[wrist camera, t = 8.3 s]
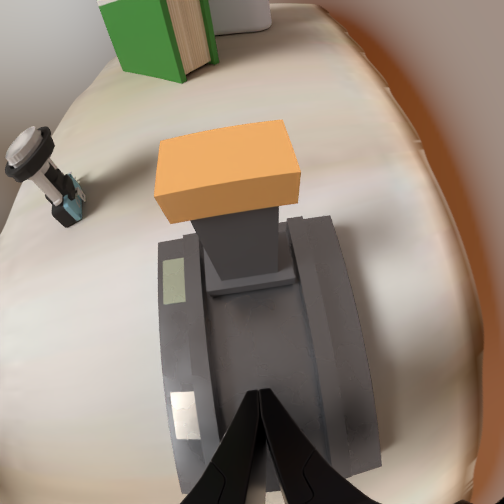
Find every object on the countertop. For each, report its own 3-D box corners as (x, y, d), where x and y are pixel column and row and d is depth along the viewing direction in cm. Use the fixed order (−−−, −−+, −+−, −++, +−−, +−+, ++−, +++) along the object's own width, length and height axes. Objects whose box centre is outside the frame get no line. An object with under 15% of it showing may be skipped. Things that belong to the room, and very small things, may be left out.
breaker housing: (371, 458, 13) (388, 471, 10) (190, 483, 13) (175, 500, 10) (325, 230, 20) (332, 205, 17) (167, 254, 20) (151, 234, 17)
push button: (58, 191, 25) (10, 133, 16) (94, 170, 26) (50, 103, 17) (56, 237, 22) (-7, 178, 13) (96, 214, 23) (37, 142, 14)
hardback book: (219, 62, 34) (195, -74, 12) (182, 83, 32) (143, -66, 10) (154, 52, 40) (125, -47, 18) (123, 71, 37) (86, -33, 16)
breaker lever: (293, 283, 16) (312, 175, 8) (210, 296, 16) (144, 203, 8) (284, 239, 18) (289, 115, 9) (206, 251, 18) (153, 139, 9)
